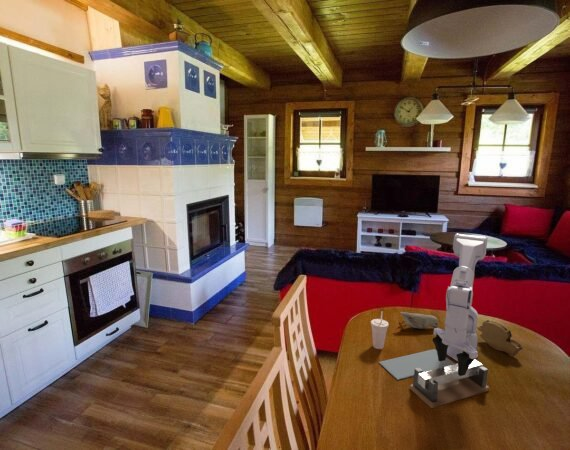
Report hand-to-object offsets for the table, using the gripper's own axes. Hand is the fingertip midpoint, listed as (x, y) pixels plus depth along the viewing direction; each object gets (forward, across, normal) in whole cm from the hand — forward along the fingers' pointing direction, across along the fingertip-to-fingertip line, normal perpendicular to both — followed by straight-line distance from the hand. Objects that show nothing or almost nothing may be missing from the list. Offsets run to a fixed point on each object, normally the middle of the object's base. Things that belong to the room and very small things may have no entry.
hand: (451, 367), depth 104 cm
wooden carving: (+8, -12, +35) cm, 38 cm away
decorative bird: (+8, -34, +18) cm, 39 cm away
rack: (+8, 0, 0) cm, 8 cm away
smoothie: (+8, -28, -6) cm, 30 cm away
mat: (+8, -14, 0) cm, 16 cm away
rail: (+3, 0, 0) cm, 4 cm away
